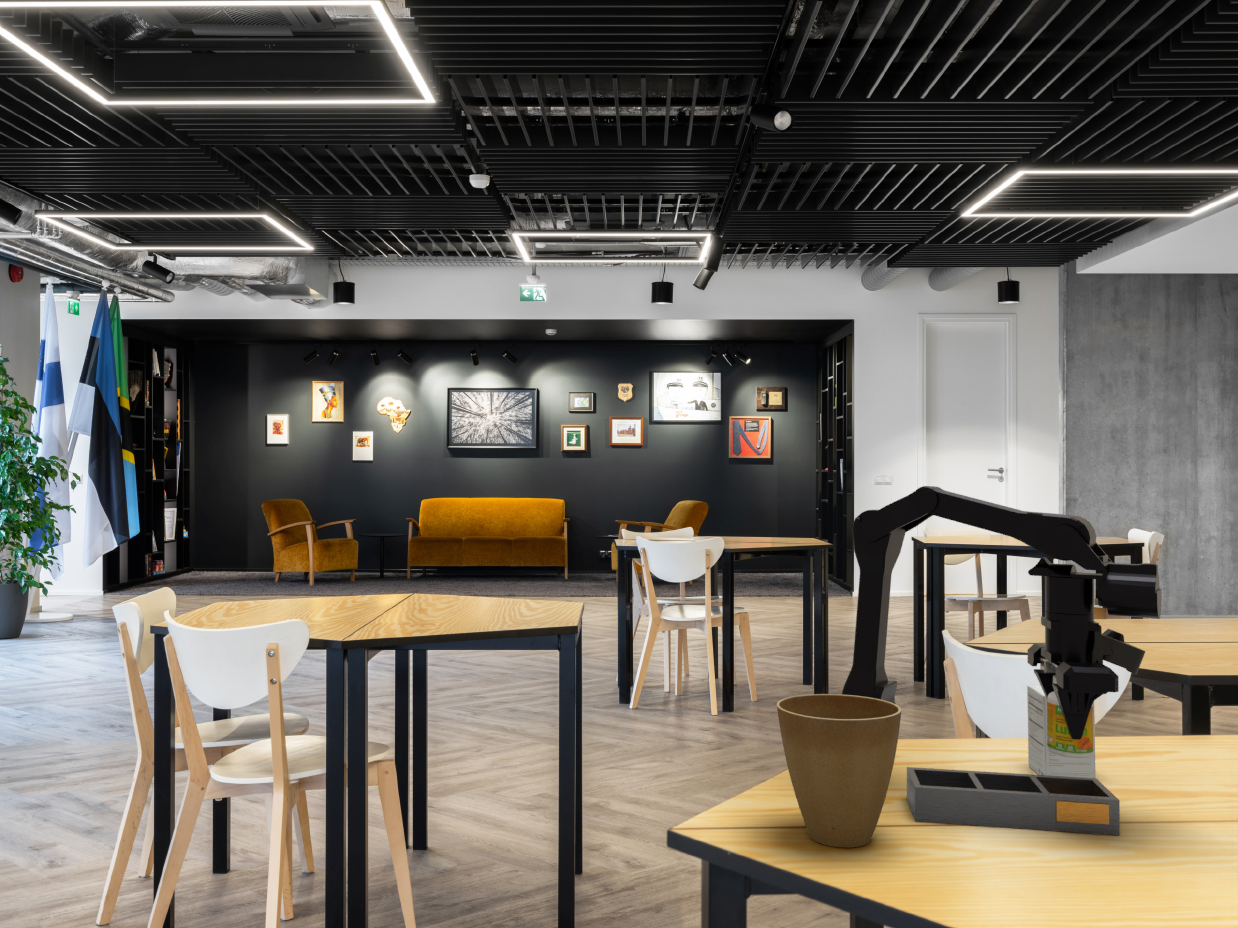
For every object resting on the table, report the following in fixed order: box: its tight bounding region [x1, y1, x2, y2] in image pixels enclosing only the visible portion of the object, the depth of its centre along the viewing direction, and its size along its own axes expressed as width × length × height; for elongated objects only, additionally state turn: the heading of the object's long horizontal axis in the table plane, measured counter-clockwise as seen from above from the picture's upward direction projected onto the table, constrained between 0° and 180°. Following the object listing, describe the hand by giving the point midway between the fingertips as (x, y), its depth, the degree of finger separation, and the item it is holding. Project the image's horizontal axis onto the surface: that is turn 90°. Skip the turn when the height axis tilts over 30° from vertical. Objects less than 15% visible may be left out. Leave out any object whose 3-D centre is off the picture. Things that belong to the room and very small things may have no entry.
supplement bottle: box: [1047, 675, 1093, 758], centre depth 119 cm, size 5×5×10 cm
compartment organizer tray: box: [906, 766, 1121, 836], centre depth 120 cm, size 24×9×4 cm, turn 79°
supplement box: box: [1026, 685, 1097, 779], centre depth 139 cm, size 7×7×13 cm
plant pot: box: [776, 693, 902, 848], centre depth 113 cm, size 15×15×16 cm
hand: (1069, 733), depth 119 cm, fingers closed on supplement bottle, 5 cm apart
